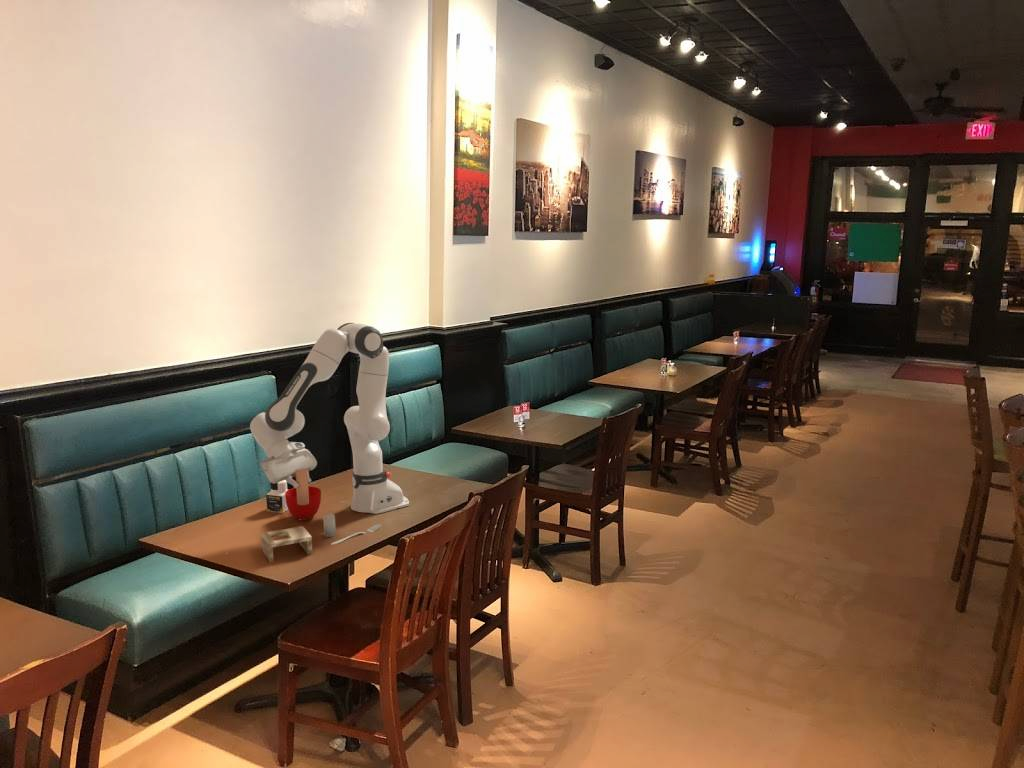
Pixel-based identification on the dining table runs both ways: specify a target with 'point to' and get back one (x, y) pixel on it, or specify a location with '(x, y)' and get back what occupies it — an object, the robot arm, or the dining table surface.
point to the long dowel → (302, 487)
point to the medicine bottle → (277, 497)
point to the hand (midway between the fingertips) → (303, 484)
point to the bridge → (286, 540)
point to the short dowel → (329, 525)
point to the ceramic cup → (303, 510)
